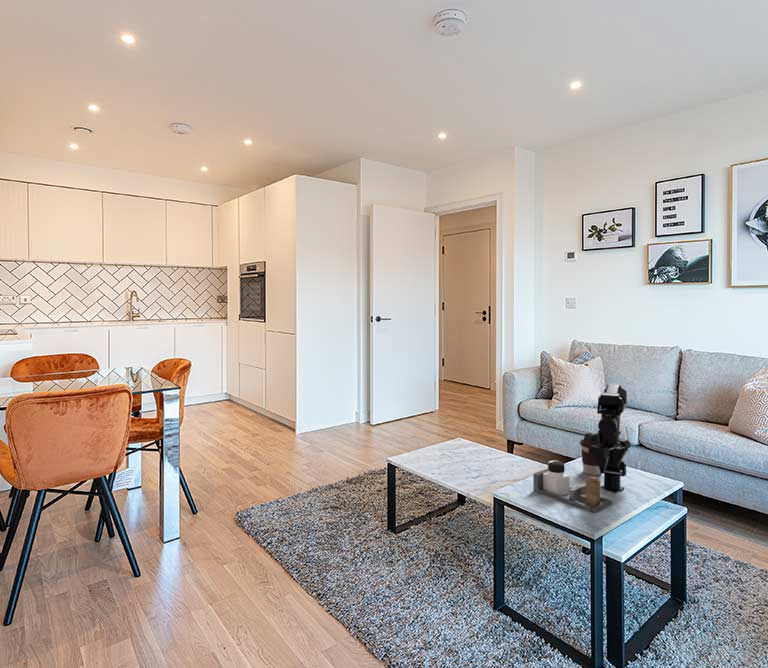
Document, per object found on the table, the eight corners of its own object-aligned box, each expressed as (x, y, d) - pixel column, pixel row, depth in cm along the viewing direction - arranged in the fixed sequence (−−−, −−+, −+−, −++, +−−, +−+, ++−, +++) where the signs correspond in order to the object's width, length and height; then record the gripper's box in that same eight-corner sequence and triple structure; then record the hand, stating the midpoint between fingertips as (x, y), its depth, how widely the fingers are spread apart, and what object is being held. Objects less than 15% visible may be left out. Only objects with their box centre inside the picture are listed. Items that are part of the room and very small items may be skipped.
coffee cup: (588, 467, 218) (588, 433, 217) (609, 473, 210) (610, 438, 209) (575, 472, 212) (575, 437, 211) (596, 478, 204) (597, 442, 203)
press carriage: (582, 495, 186) (582, 470, 185) (603, 503, 179) (604, 477, 178) (568, 501, 181) (569, 475, 180) (591, 509, 174) (591, 482, 173)
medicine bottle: (569, 493, 189) (570, 463, 188) (555, 497, 186) (556, 466, 185) (556, 487, 195) (556, 458, 194) (542, 490, 192) (542, 460, 191)
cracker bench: (551, 484, 199) (551, 467, 198) (612, 504, 178) (612, 485, 178) (533, 491, 192) (533, 473, 191) (594, 513, 171) (594, 493, 171)
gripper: (602, 420, 191) (602, 459, 192) (574, 427, 180) (574, 469, 181) (631, 425, 182) (630, 466, 183) (603, 434, 171) (603, 478, 172)
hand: (609, 470), depth 180 cm, fingers open, 9 cm apart
